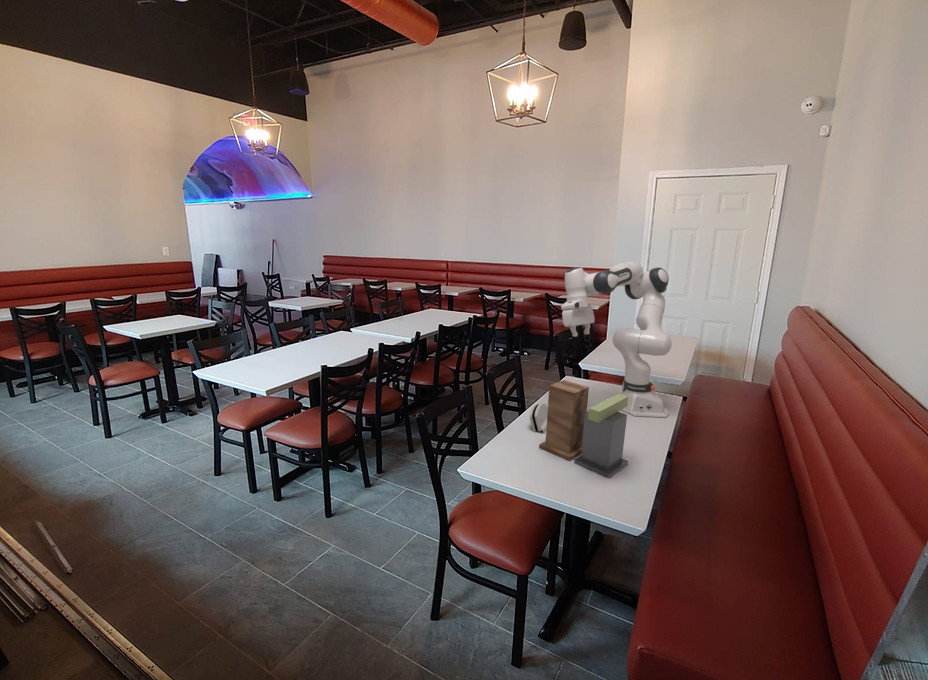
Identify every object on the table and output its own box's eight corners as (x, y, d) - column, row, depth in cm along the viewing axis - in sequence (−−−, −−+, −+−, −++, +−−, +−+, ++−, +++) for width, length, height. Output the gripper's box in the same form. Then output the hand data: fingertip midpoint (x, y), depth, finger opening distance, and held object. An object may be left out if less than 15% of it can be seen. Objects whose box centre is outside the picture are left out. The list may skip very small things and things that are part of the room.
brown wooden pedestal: (559, 436, 186) (563, 377, 179) (589, 448, 176) (595, 386, 170) (539, 447, 176) (542, 385, 170) (569, 461, 166) (574, 395, 160)
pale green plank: (617, 403, 169) (618, 393, 168) (627, 406, 167) (628, 396, 166) (587, 419, 155) (588, 408, 154) (598, 422, 153) (599, 411, 152)
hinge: (544, 434, 188) (537, 411, 187) (533, 435, 190) (527, 413, 189) (553, 419, 203) (547, 398, 202) (543, 420, 205) (537, 400, 204)
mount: (593, 450, 175) (598, 403, 170) (627, 464, 165) (633, 414, 160) (574, 463, 165) (578, 413, 160) (608, 478, 155) (614, 425, 150)
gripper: (584, 303, 206) (587, 333, 207) (558, 306, 192) (562, 338, 193) (596, 302, 202) (599, 332, 202) (571, 304, 188) (574, 337, 188)
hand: (581, 335), depth 197 cm, fingers open, 8 cm apart
